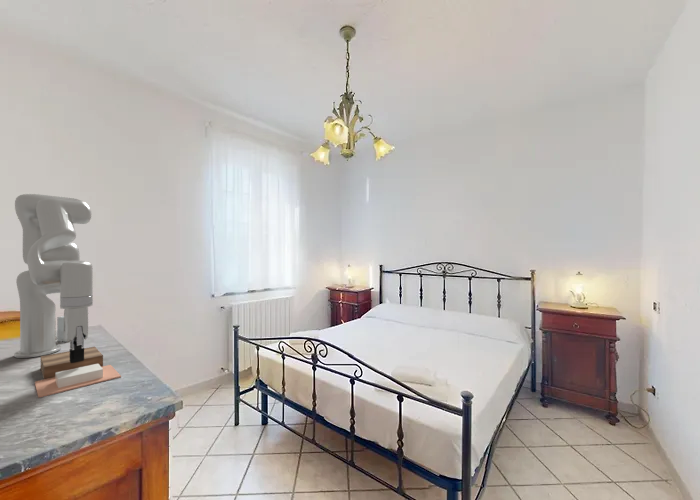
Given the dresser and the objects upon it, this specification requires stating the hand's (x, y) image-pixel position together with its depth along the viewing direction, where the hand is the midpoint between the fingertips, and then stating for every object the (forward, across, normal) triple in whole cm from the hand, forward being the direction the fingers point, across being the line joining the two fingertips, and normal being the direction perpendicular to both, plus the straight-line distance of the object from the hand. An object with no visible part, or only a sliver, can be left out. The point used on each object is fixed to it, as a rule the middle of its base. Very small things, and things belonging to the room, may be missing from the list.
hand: (76, 361), depth 96 cm
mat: (+5, +3, 0) cm, 6 cm away
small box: (+5, -55, +5) cm, 56 cm away
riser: (+5, -11, 0) cm, 12 cm away
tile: (+3, +4, 0) cm, 5 cm away
